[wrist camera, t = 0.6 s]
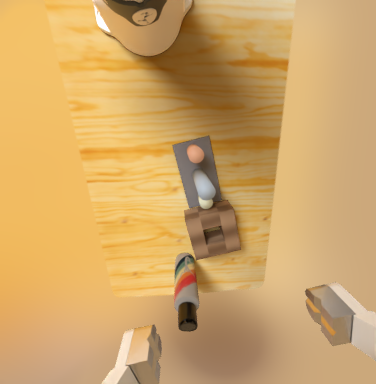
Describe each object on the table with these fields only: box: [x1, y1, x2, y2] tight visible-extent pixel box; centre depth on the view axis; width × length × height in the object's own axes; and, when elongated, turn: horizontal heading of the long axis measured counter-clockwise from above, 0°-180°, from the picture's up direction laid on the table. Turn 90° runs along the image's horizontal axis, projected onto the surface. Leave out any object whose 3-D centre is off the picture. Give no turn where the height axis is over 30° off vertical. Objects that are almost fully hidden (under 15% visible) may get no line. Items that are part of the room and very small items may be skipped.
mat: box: [173, 136, 222, 208], centre depth 46 cm, size 17×9×1 cm, turn 14°
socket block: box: [184, 200, 241, 260], centre depth 49 cm, size 12×12×6 cm
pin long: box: [192, 168, 216, 200], centre depth 40 cm, size 3×3×14 cm
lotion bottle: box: [174, 253, 199, 331], centre depth 46 cm, size 6×6×20 cm
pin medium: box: [187, 144, 204, 163], centre depth 41 cm, size 3×3×8 cm
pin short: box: [198, 195, 213, 209], centre depth 46 cm, size 3×3×5 cm
